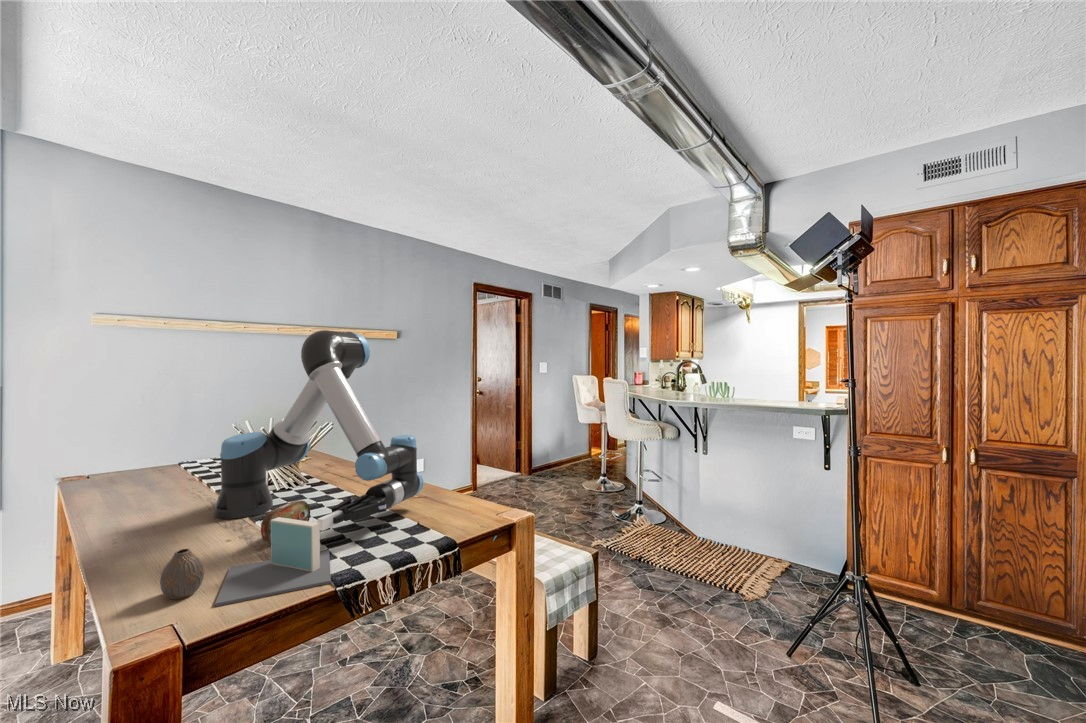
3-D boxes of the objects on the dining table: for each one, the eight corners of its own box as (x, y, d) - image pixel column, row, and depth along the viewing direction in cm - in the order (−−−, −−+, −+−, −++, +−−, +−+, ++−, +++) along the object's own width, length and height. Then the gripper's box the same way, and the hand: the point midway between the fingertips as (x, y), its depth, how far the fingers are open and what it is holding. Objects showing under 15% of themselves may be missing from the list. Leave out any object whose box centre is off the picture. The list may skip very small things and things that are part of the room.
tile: (270, 564, 103) (270, 520, 102) (278, 560, 105) (278, 517, 105) (311, 572, 99) (311, 526, 99) (319, 567, 101) (319, 523, 101)
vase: (188, 602, 88) (188, 557, 88) (150, 604, 87) (150, 559, 87) (212, 585, 95) (211, 543, 94) (177, 586, 94) (176, 544, 94)
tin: (269, 548, 113) (268, 515, 112) (258, 547, 113) (258, 514, 113) (311, 526, 127) (311, 496, 127) (301, 525, 128) (301, 496, 128)
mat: (230, 569, 101) (230, 566, 101) (329, 552, 110) (329, 549, 110) (214, 606, 86) (214, 603, 86) (330, 583, 95) (330, 580, 95)
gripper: (403, 511, 128) (342, 544, 106) (365, 506, 133) (298, 537, 110) (403, 485, 128) (342, 512, 106) (365, 481, 132) (298, 506, 110)
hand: (320, 524), depth 108 cm, fingers closed
